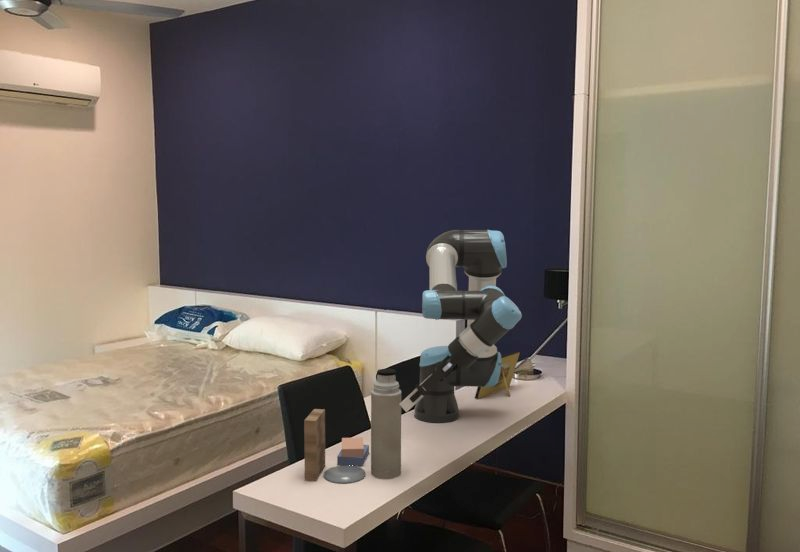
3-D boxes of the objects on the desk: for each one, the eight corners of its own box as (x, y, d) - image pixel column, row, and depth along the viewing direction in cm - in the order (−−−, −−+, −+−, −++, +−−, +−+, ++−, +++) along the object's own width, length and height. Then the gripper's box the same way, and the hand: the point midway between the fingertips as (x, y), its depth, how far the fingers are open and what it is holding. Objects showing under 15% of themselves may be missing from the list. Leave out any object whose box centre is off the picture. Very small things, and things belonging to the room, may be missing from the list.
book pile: (343, 451, 198) (343, 436, 197) (369, 453, 197) (369, 437, 196) (335, 465, 188) (334, 448, 187) (362, 467, 187) (362, 450, 186)
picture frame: (506, 385, 270) (511, 349, 267) (526, 392, 265) (531, 355, 262) (474, 398, 252) (479, 359, 250) (495, 405, 247) (500, 366, 244)
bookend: (314, 465, 187) (314, 408, 185) (325, 466, 187) (325, 409, 185) (304, 480, 177) (304, 420, 176) (316, 481, 177) (315, 421, 175)
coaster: (329, 466, 187) (329, 464, 187) (369, 468, 186) (369, 466, 186) (319, 482, 176) (319, 480, 176) (361, 484, 175) (361, 483, 175)
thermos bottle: (370, 467, 186) (370, 366, 183) (399, 467, 187) (400, 366, 184) (371, 479, 178) (371, 374, 175) (401, 478, 179) (402, 373, 176)
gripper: (469, 369, 159) (406, 426, 165) (487, 348, 183) (432, 398, 189) (446, 345, 160) (385, 402, 166) (468, 327, 184) (414, 378, 190)
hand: (410, 400), depth 177 cm, fingers open, 13 cm apart
